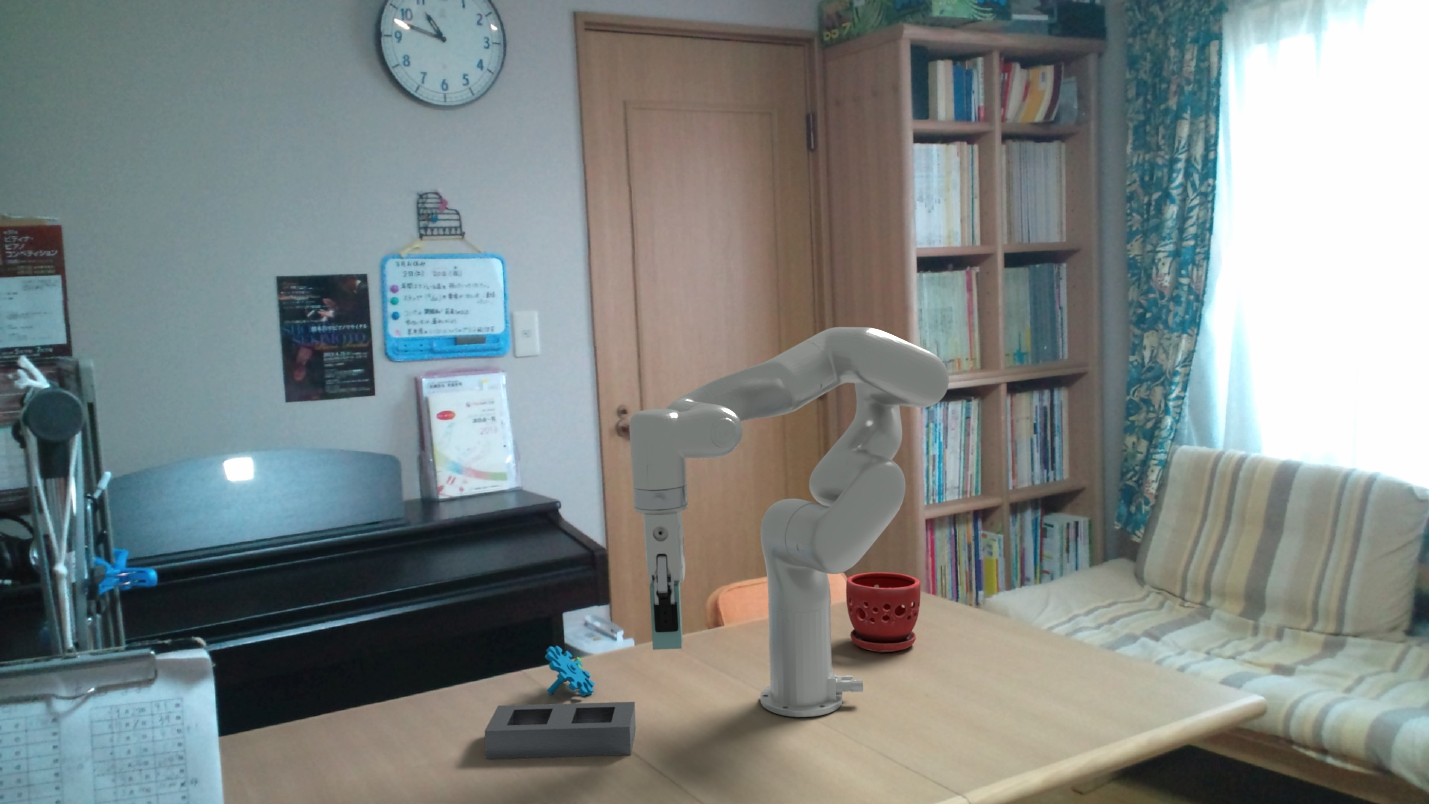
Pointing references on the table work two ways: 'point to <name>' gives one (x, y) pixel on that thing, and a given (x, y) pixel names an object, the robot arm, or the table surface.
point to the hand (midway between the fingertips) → (667, 624)
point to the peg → (667, 638)
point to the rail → (561, 730)
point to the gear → (568, 672)
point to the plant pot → (883, 610)
